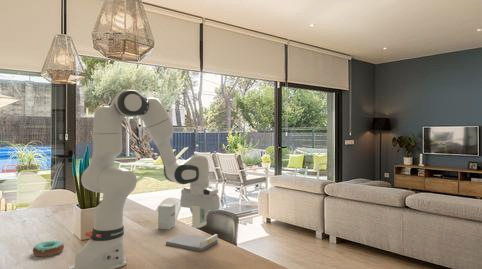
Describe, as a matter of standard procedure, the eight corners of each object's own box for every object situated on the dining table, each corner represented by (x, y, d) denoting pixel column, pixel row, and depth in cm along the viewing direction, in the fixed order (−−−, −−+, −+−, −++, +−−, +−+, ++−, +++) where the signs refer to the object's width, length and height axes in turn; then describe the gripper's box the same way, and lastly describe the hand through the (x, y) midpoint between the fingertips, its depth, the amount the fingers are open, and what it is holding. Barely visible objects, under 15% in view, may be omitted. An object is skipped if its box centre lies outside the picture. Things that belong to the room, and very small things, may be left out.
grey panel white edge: (202, 251, 151) (202, 242, 151) (165, 244, 160) (166, 236, 160) (217, 242, 163) (217, 234, 163) (183, 236, 172) (183, 228, 172)
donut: (56, 246, 157) (56, 238, 157) (68, 252, 149) (68, 243, 149) (28, 253, 147) (28, 244, 147) (39, 260, 140) (39, 250, 140)
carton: (199, 223, 164) (199, 203, 163) (206, 224, 162) (206, 203, 162) (192, 226, 158) (192, 205, 158) (199, 227, 156) (199, 206, 156)
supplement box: (170, 229, 184) (170, 206, 184) (157, 228, 186) (157, 205, 185) (175, 226, 191) (175, 203, 191) (163, 225, 193) (163, 203, 193)
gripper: (177, 188, 161) (177, 217, 162) (214, 192, 152) (214, 222, 153) (185, 186, 167) (185, 214, 167) (221, 189, 158) (221, 219, 158)
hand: (199, 218), depth 160 cm, fingers closed on carton, 4 cm apart
